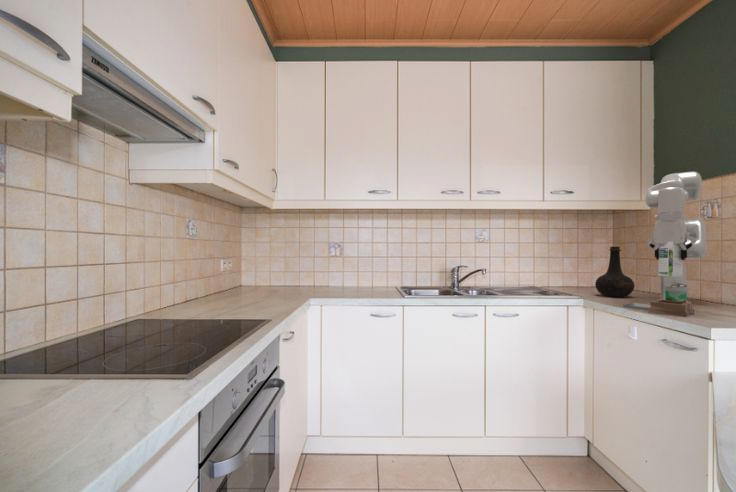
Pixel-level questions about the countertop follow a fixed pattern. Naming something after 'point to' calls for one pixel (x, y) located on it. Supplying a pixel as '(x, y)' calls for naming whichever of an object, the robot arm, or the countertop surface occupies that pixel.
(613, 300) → the countertop surface
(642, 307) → the plate
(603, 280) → the glass bottle
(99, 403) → the countertop surface
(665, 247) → the syrup box
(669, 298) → the food container
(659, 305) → the socket
